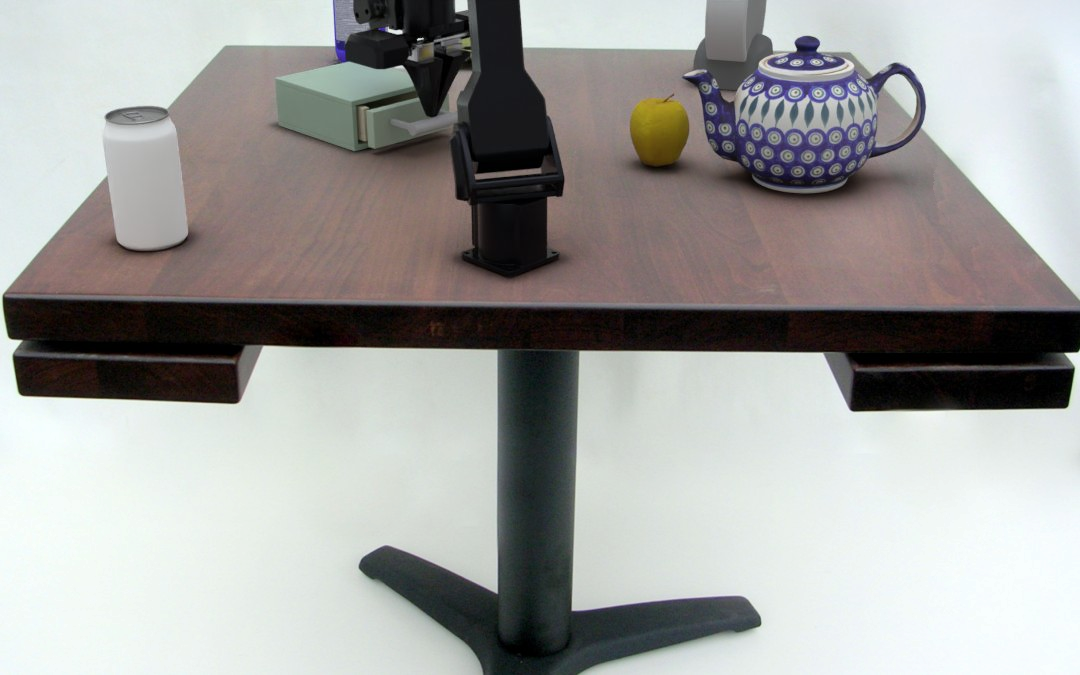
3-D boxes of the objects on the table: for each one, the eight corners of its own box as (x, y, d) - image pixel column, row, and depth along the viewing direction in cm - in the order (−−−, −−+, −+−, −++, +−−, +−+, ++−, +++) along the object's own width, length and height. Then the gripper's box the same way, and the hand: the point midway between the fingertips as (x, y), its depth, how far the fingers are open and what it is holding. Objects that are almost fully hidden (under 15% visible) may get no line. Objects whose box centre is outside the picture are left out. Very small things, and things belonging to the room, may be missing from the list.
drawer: (478, 136, 153) (477, 101, 152) (402, 158, 146) (401, 121, 145) (376, 105, 165) (374, 72, 163) (301, 124, 158) (299, 89, 156)
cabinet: (437, 128, 159) (435, 80, 157) (354, 151, 151) (351, 101, 149) (360, 105, 168) (358, 59, 166) (278, 125, 160) (274, 77, 158)
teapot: (904, 157, 149) (920, 21, 143) (932, 204, 136) (952, 56, 129) (674, 153, 150) (680, 18, 144) (680, 199, 137) (687, 52, 131)
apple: (697, 171, 145) (701, 97, 142) (640, 176, 143) (643, 102, 140) (675, 153, 151) (678, 82, 147) (620, 158, 149) (622, 86, 146)
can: (132, 258, 123) (114, 128, 118) (106, 237, 128) (88, 111, 122) (200, 242, 126) (185, 116, 121) (172, 222, 131) (157, 100, 126)
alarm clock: (707, 60, 188) (714, -77, 181) (781, 65, 186) (792, -74, 178) (681, 89, 175) (687, -58, 167) (760, 96, 172) (771, -53, 164)
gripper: (442, -50, 154) (445, 86, 160) (307, -28, 142) (317, 118, 148) (511, -37, 147) (512, 105, 153) (376, -13, 135) (383, 140, 141)
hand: (431, 116), depth 149 cm, fingers closed, pressing on drawer
